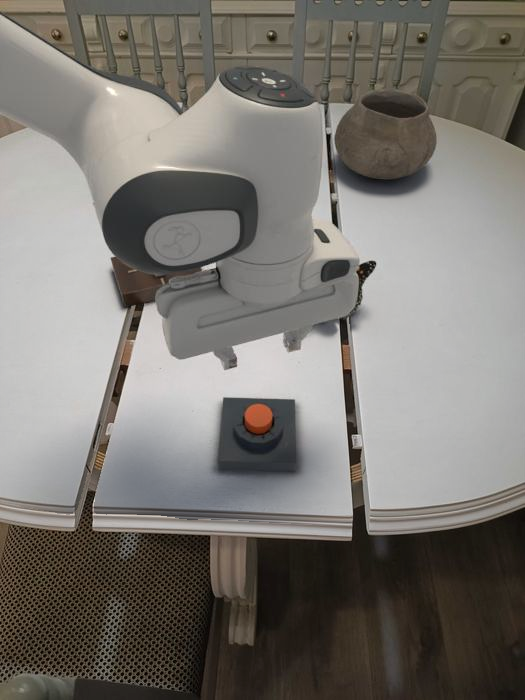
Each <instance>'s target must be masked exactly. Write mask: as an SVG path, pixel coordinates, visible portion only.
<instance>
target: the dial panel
mask: <svg viewBox="0 0 525 700" xmlns="http://www.w3.org/2000/svg"><path fill="white" fill-rule="evenodd" d="M110 262H111V267H112V270H113V273H114V276H115V280H116V284H117V286H118V289H119V293H120V296H121V300H122V303H123V306H124V308H129V307H133V306H138V305H141V304H142V305H143V304H146V303H150V302H156V301H155V296H156V292H157V291H158V290H159V289H160V288H161V287H162V286H164V285H166V284H168V283H169V280H170V279H172V278H174V277H178V276H187V275H191V274H194V273H197V272H200V271H203V269H202V267H200V268H197V269H193V270H190V271H186V272H182V273H178V274H171V275H163V276H159V277H155V275H154V274H148V273H144V272H140V271H137V270H135V269H133V268H130V267H129V266H127V265H125V264H124V263H122V262H121V261H120V260H118V259H117V258H116V257H115V256H111V257H110Z"/></svg>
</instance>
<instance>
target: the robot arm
mask: <svg viewBox="0 0 525 700" xmlns="http://www.w3.org/2000/svg"><path fill="white" fill-rule="evenodd" d="M0 115H1V116H3V117H5V118H7V119H9V120H12V121H13V122H16V124H17V123H18V124H20V125H22V126H23V127H26V128H28V129H30V130H32V131H34V132H37V133H38V134H41V135H42V136H45V137H46V138H49V139H50V140H52V141H54V142H56V143H57V144H58V145H60V146H61V147H62V148H63V149H64V150H65V151H66V152H67V153H68V154H69V155H70V157H71V158H72V159H73V160H74V162H75V163H76V164H77V166H78V167H79V169H80V170H81V172H82V173H83V175H84V177H85V180H86V183H87V187H88V189H89V192H90V196H91V198H92V201H93V202H92V205H93V207H94V211H95V214H96V218H97V222H98V223H99V227H100V229H101V233H102V237H103V239H104V242H105V245H106V246H107V248H108V250H109V251H110V252H111V254H112V255H113V257H116V258H117V259H118V260H120V261H121V262H122V263H124V264H125V265H127V266H129V267H130V268H133V269H135V270H137V271H140V272H144V273H148V274H155V275H171V274H178V273H182V272H186V271H190V270H193V269H197V268H200V267H201V268H203V267H206V266H209V265H212V264H215V267H213V268H210V269H209V268H208V269H204V270H202V271H200V272H197V273H194V274H191V275H187V276H178V277H174V278H172V279H170V280H169V283H168V284H166V285H164V286H162V287H161V288H160V289H159V290H158V291H157V292H156V296H155V301H154V302H155V307H156V311H157V313H158V315H160V316H161V320H162V332H163V338H164V341H165V344H166V348H167V349H168V352H169V355H170V356H172V357H173V358H175V359H178V360H180V361H181V360H186V359H190V358H194V357H198V356H201V355H206V354H209V353H213V355H214V356H215V357H216V358H218V359H219V360H220V364H221V366H222V369H223V371H228V370H230V369H231V370H232V369H235V368H237V367H238V357H237V354H236V353H235V350H234V348H233V347H235V346H239V345H243V344H246V343H250V342H254V341H258V340H262V339H266V338H269V337H273V336H277V335H280V334H283V335H282V337H283V339H282V343H283V346H284V348H286V349H285V350H286V352H287V353H288V354H289V353H292V352H296V351H300V350H301V349H302V341H303V340H305V338H306V337H307V336H308V335H309V334H310V332H311V331H312V330H313V328H314V325H317V324H322V323H325V322H330V321H332V320H338V318H339V319H342V318H341V317H345V316H347V315H348V314H349V313H350V312H351V311H352V310H353V309H354V307H355V305H356V301H357V295H358V287H359V278H358V275H357V273H356V271H357V269H358V267H359V265H360V257H359V255H358V254H357V252H356V250H355V248H354V247H353V246H352V244H351V243H350V241H349V240H348V238H347V237H346V236H345V235H344V234H343V233H342V231H341V230H340V229H339V228H338V227H337V226H336V225H335V224H334V223H333V222H332V221H330V220H327V219H326V220H325V219H316V218H313V210H314V208H315V206H316V204H317V201H318V198H319V195H320V186H321V179H322V168H323V167H322V166H323V164H322V163H323V142H324V141H323V140H324V139H323V120H322V112H321V107H320V103H319V101H318V100H317V99H316V97H315V96H314V94H313V93H312V92H311V91H310V90H309V89H308V88H307V87H306V86H305V85H304V84H302V83H301V82H300V81H299V80H297V79H296V78H294V77H293V76H291V75H290V74H287V73H284V72H282V71H278V70H277V69H273V68H269V67H263V66H256V65H239V66H235V67H231V68H227V69H225V70H223V71H221V72H220V73H219V74H218V75H217V77H216V79H215V81H214V82H213V84H212V85H211V87H210V88H209V89H208V90H207V92H205V94H204V95H202V97H200V98H199V99H198V100H197V101H196V102H195V103H194V104H193V105H192V106H191V107H189V108H188V109H187V110H185V111H183V110H182V107H181V106H180V105H179V103H178V102H177V101H176V99H175V98H174V97H172V95H170V94H169V93H168V91H166V90H164V89H163V88H161V87H159V86H158V85H156V84H154V83H152V82H149V81H146V80H144V79H140V78H136V77H131V76H127V75H122V74H118V73H117V74H116V73H112V72H109V71H104V70H101V69H98V68H95V67H93V66H91V65H89V64H86V63H84V62H83V61H81V60H79V59H77V58H76V57H74V56H72V55H71V54H69V53H67V51H64V50H62V48H59V47H58V46H57V45H55V44H53V43H52V42H50V41H49V40H47V39H45V38H43V36H40V35H39V34H37V33H36V32H34V31H33V30H31V29H29V28H28V27H26V26H25V25H23V24H21V23H20V22H18V21H17V20H16V19H14V18H12V17H11V16H9V15H7V14H6V13H4V12H3V11H1V10H0Z"/></svg>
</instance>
